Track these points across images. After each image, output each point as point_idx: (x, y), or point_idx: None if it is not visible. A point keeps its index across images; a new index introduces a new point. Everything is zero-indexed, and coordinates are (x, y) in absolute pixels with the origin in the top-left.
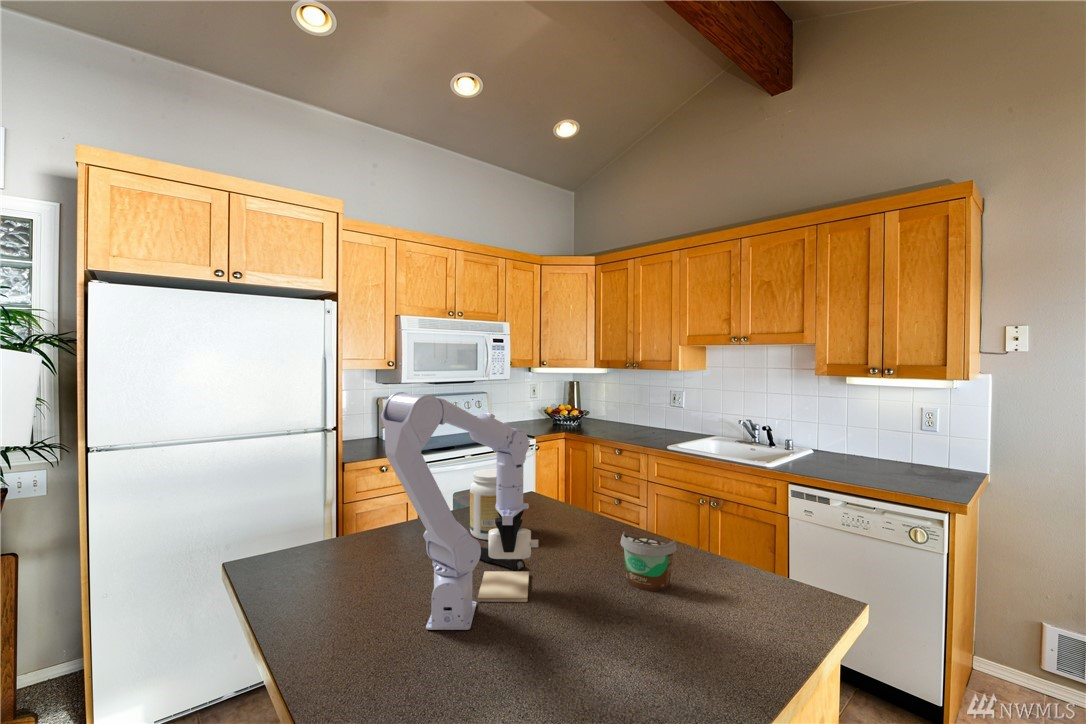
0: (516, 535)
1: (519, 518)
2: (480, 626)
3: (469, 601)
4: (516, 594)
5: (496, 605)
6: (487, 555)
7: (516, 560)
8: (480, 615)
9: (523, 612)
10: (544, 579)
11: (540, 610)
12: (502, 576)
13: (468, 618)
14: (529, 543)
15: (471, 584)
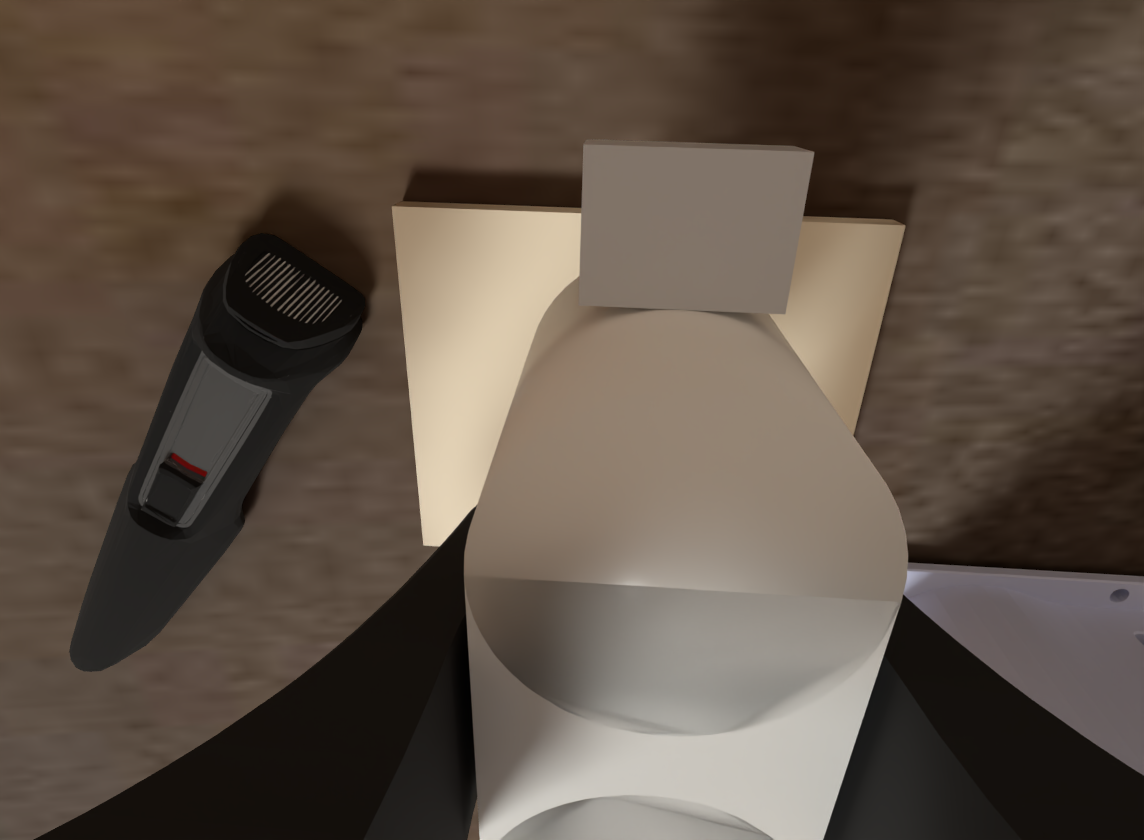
0: (1055, 722)
1: (372, 834)
2: (1131, 522)
3: (1084, 664)
4: (827, 317)
5: (888, 442)
6: (198, 552)
7: (290, 340)
8: (994, 528)
9: (1051, 251)
10: (478, 41)
11: (1069, 101)
12: (503, 426)
13: (1063, 598)
14: (765, 334)
15: (1130, 750)
